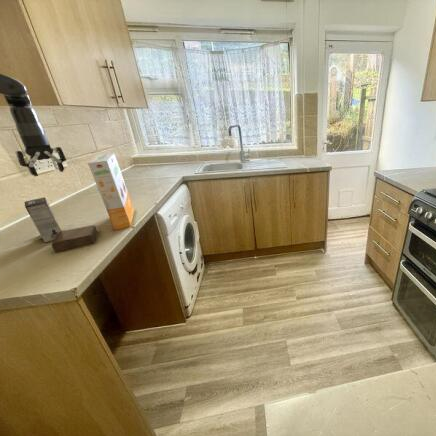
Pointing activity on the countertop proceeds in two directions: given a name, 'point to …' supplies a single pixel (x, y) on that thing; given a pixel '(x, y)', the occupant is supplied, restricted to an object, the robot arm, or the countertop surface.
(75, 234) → the block
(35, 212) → the coffee box
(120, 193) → the cereal box
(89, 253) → the countertop surface
